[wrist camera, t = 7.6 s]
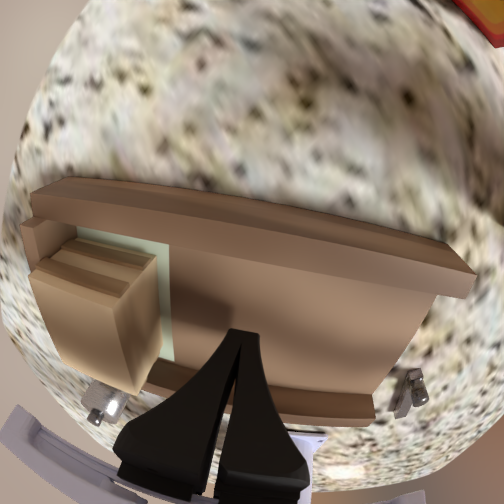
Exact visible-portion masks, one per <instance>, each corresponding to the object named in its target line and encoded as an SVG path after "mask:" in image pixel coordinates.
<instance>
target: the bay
mask: <svg viewBox="0 0 504 504" xmlns="http://www.w3.org/2000/svg"><path fill="white" fill-rule="evenodd" d="M30 196H31V204H32V211H33V217H32V218H30V219H28V220H27V221H25V222H23V223H22V224H20V229H21V234H22V239H23V244H24V248H25V252H26V256H27V260H28V264H29V267H30V271H31V273H32V272H33V271H34V270H35V269H36V267H35V265H36V264H37V263H38V262H40V261H41V260H42V259H44V258H45V257H47V258H51V257H52V256H53V255H54V254H56V253H57V252H58V251H60V250H61V245H62V244H64V243H65V242H67V241H68V240H69V239H73V240H75V239H76V238H81V239H86V240H90V241H94V242H99V243H103V244H107V245H112V246H116V247H120V248H125V249H129V250H134V251H138V252H143V253H147V254H152V255H156V256H157V273H158V290H159V304H160V316H161V326H162V336H163V346H162V348H161V350H160V354H159V356H158V358H157V360H156V362H155V363H153V365H152V367H151V369H150V371H149V373H148V375H147V380H146V382H145V385H144V387H143V389H141V390H144V391H147V392H150V393H153V394H156V395H159V396H162V397H165V398H169V397H170V396H171V395H173V394H174V393H175V392H176V391H178V390H179V389H180V388H181V387H182V386H184V385H185V384H186V383H187V382H188V381H189V380H190V379H191V378H192V377H193V376H194V375H195V374H196V373H197V372H198V371H199V370H200V369H201V368H202V366H203V365H204V364H205V363H206V362H207V361H208V360H209V358H210V357H211V356H212V354H213V353H214V352H215V351H216V349H217V348H218V346H219V345H220V343H221V342H222V340H223V339H224V337H225V335H226V334H227V332H228V329H230V328H234V329H239V330H244V331H249V332H254V333H258V334H259V335H260V351H261V358H262V364H263V368H264V373H265V377H266V380H267V384H268V387H269V390H270V393H271V396H272V399H273V402H274V404H275V407H276V409H277V411H278V414H279V416H280V418H281V420H282V422H283V423H290V424H300V425H313V426H331V427H368V426H369V425H370V424H371V423H372V422H373V421H374V420H375V419H376V416H375V410H374V404H373V398H372V394H373V392H374V391H375V390H376V389H377V387H378V386H379V385H380V384H381V382H382V381H383V380H384V378H385V377H386V376H387V374H388V373H389V372H390V370H391V369H392V367H393V366H394V365H395V363H396V362H397V360H398V359H399V357H400V356H401V355H402V353H403V352H404V350H405V349H406V347H407V346H408V344H409V342H410V341H411V339H412V338H413V336H414V335H415V333H416V331H417V330H418V328H419V326H420V325H421V323H422V321H423V320H424V318H425V316H426V314H427V313H428V311H429V309H430V307H431V306H432V304H433V302H434V300H435V298H436V296H437V295H443V296H448V297H454V298H460V299H465V298H466V297H467V295H468V293H469V291H470V289H471V287H472V285H473V283H474V281H475V279H476V277H477V275H476V274H475V273H474V271H473V270H472V269H471V268H470V267H469V266H468V265H467V264H466V263H465V262H464V261H463V260H462V259H461V257H460V256H459V255H458V254H457V253H456V252H455V251H454V250H453V249H452V248H451V247H450V246H449V245H448V244H445V243H441V242H438V241H434V240H431V239H427V238H424V237H420V236H416V235H413V234H409V233H405V232H402V231H398V230H394V229H390V228H386V227H382V226H378V225H374V224H370V223H366V222H361V221H357V220H353V219H348V218H344V217H340V216H335V215H330V214H326V213H321V212H316V211H312V210H307V209H302V208H297V207H292V206H287V205H281V204H276V203H271V202H265V201H260V200H254V199H248V198H242V197H237V196H230V195H224V194H218V193H211V192H205V191H198V190H191V189H184V188H176V187H169V186H161V185H153V184H144V183H135V182H126V181H116V180H105V179H94V178H81V177H67V178H64V179H62V180H59V181H57V182H54V183H52V184H50V185H47V186H45V187H43V188H40V189H38V190H36V191H34V192H32V193H30ZM235 379H236V378H235ZM234 388H235V382H234V385H233V388H232V391H231V393H230V396H229V399H228V402H227V405H226V408H225V411H224V413H227V414H231V411H232V406H233V397H234Z"/></svg>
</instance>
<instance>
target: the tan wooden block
mask: <svg viewBox="0 0 504 504" xmlns="http://www.w3.org/2000/svg"><path fill="white" fill-rule="evenodd" d="M35 267H36V269H35V270H34V271H33V272H32V273H30V274H29V275H28V278H29V281H30V284H31V287H32V290H33V293H34V296H35V299H36V302H37V305H38V307H39V310H40V312H41V315H42V318H43V320H44V322H45V325H46V327H47V330H48V332H49V334H50V336H51V339H52V341H53V343H54V345H55V347H56V349H57V351H58V353H59V355H60V357H61V359H62V361H63V363H64V364H66V365H68V366H70V367H72V368H74V369H75V370H77V371H79V372H81V373H84V374H86V375H88V376H90V377H92V378H94V379H96V380H98V381H101V382H103V383H105V384H107V385H110V386H112V387H115V388H117V389H119V390H122V391H124V392H127V393H130V394H132V395H135V396H138V394H139V392H140V390H141V389H143V387H144V385H145V382H146V380H147V375H148V373H149V371H150V369H151V367H152V365H153V363H155V362H156V360H157V358H158V356H159V354H160V350H161V348H162V346H163V336H162V326H161V316H160V304H159V290H158V273H157V256H156V255H152V254H147V253H143V252H138V251H134V250H129V249H125V248H120V247H116V246H112V245H107V244H103V243H99V242H94V241H90V240H86V239H81V238H76V239H75V240H73V239H69V240H68V241H67V242H65V243H64V244H62V245H61V250H60V251H58V252H57V253H56V254H54V255H53V256H52V257H51V258H47V257H45V258H44V259H42V260H41V261H40V262H38V263H37V264H36V265H35Z"/></svg>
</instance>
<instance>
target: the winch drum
mask: <svg viewBox="0 0 504 504" xmlns="http://www.w3.org/2000/svg"><path fill="white" fill-rule="evenodd" d="M130 395H131V394H130V393H127V392H124V391H122V390H119V389H117V388H115V387H112V386H110V385H107V384H105V383H103V382H101V381H98V380H96V379H93V381H92V383H91V384H90V386H89V388H88V389H87V391H86V392H85V394H84V396H83V397H82V399H81V403H82V405H83V406H84V407H85V408H86V409H87V410H88V411H89V412H90V414H89V416H88V417H87V420H88V421H89V422H90V423H92V424H93V425H95V426H98V427H99V426H100V424H101V422H102V420H103V421H105V422H108V423H111V424H116V423H117V422H118V420H119V418H120V416H121V413H122V411H123V409H124V407H125V405H126V403H127V401H128V399H129V397H130Z"/></svg>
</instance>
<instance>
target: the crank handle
mask: <svg viewBox="0 0 504 504" xmlns="http://www.w3.org/2000/svg"><path fill="white" fill-rule="evenodd" d="M428 401H429V396H428V393H427V390H426V387H425V384H424V381H423V374H422V371H421V368H420V369H416V370H411V371H408V373H407V376H406V379H405V382H404V385H403V388H402V391H401V394H400V396H399V399H398V402H397V404H396V407H395V409H394V416H395V419H398V418H402V417H406V415H407V413H408V411H409V409H410V407H411V405H412V403H413V406H414V407H419V406H422V405H424V404H425V403H427V402H428Z"/></svg>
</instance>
